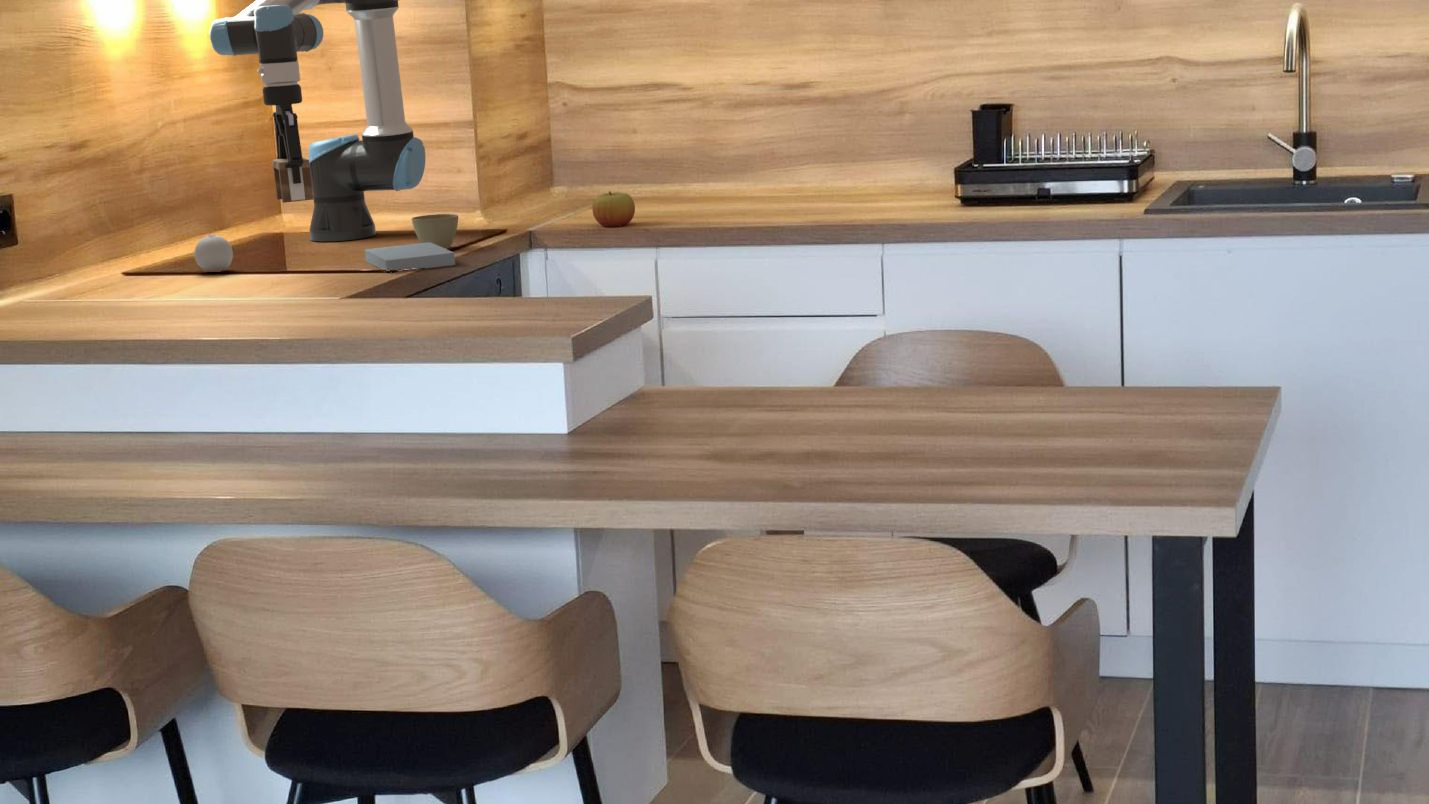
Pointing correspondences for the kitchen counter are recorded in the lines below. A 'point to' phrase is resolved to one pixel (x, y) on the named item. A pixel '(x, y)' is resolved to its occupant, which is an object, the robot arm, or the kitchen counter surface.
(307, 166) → the stool
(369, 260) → the plinth
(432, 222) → the flower pot
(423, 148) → the robot arm
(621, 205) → the apple
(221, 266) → the grey ball
